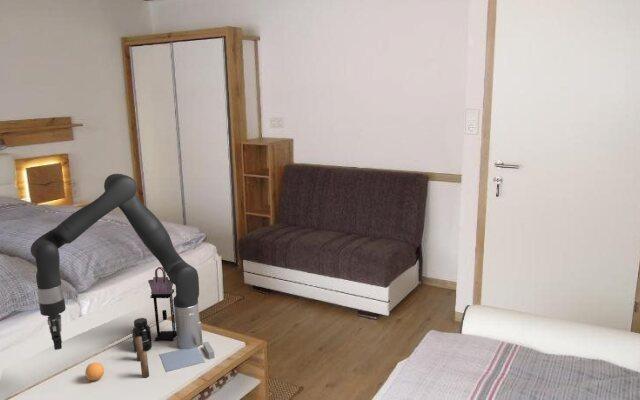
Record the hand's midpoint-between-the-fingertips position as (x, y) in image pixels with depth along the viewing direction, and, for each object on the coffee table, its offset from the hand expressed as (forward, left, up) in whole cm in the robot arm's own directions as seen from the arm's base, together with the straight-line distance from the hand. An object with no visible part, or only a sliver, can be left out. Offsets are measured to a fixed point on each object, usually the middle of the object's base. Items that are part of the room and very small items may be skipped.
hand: (58, 346), depth 176 cm
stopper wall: (-50, +1, -15) cm, 52 cm away
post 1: (-26, -6, -15) cm, 31 cm away
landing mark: (-40, 0, -15) cm, 43 cm away
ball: (-10, 0, -12) cm, 16 cm away
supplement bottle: (-28, -15, -15) cm, 35 cm away
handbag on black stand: (-38, -21, -15) cm, 46 cm away
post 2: (-26, +6, -15) cm, 31 cm away
